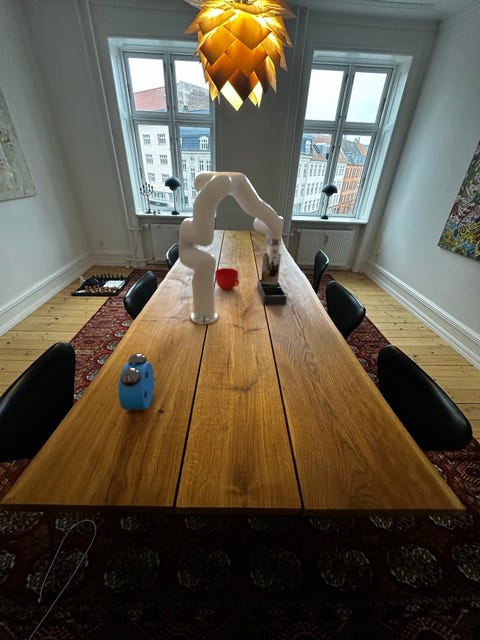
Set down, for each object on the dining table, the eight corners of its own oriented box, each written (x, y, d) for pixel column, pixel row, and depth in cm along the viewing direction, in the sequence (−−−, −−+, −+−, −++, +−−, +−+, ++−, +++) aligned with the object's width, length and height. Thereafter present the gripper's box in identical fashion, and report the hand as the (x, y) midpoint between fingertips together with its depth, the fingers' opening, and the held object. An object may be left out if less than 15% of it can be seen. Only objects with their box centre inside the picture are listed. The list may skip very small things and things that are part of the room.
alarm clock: (137, 385, 81) (128, 347, 73) (157, 385, 81) (150, 347, 74) (124, 421, 70) (112, 380, 62) (147, 420, 70) (138, 379, 63)
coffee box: (278, 281, 146) (281, 253, 138) (276, 285, 141) (280, 257, 133) (262, 279, 148) (265, 251, 140) (260, 283, 143) (262, 255, 135)
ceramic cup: (228, 297, 139) (228, 280, 133) (211, 287, 150) (210, 270, 145) (246, 291, 146) (247, 275, 141) (228, 282, 157) (228, 266, 152)
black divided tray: (285, 304, 134) (287, 295, 131) (263, 305, 132) (264, 296, 130) (276, 287, 153) (277, 279, 150) (257, 287, 152) (257, 279, 149)
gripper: (284, 245, 126) (280, 279, 135) (277, 237, 141) (273, 268, 150) (269, 245, 125) (266, 279, 134) (263, 237, 140) (261, 268, 149)
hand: (270, 273), depth 142 cm, fingers closed on coffee box, 8 cm apart
